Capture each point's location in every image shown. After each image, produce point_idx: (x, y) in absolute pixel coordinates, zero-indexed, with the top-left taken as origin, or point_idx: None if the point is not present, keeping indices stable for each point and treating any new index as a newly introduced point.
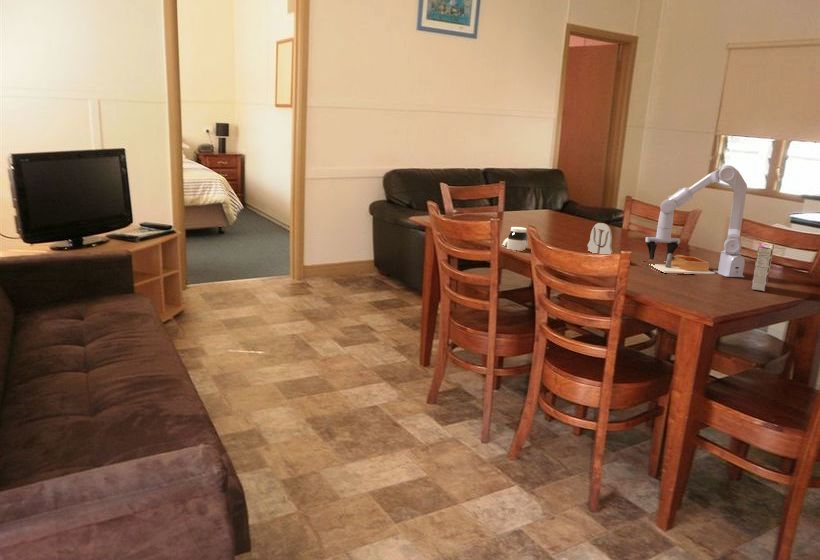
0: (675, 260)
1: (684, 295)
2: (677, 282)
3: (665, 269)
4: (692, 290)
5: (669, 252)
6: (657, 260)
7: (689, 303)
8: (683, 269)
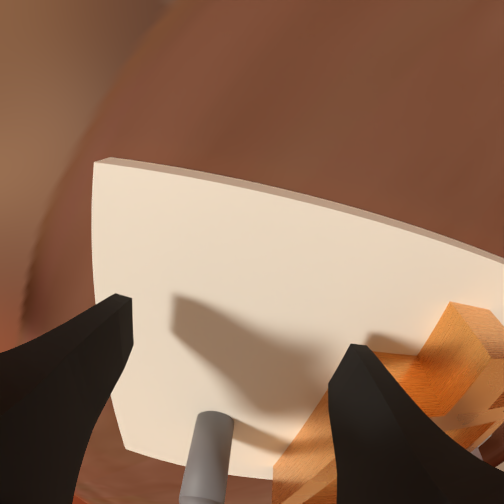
0: (325, 441)
1: (99, 495)
2: (129, 480)
3: (153, 440)
4: (134, 500)
5: (353, 451)
6: (464, 38)
7: (92, 499)
8: (278, 461)
